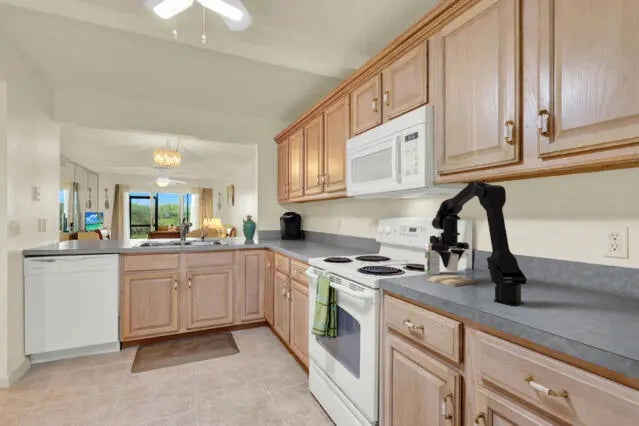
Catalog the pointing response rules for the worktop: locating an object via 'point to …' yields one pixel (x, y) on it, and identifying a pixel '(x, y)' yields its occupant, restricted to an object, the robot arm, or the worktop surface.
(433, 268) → the syrup box
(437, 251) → the robot arm
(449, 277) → the birch board
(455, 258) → the white short cylinder
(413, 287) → the worktop surface
